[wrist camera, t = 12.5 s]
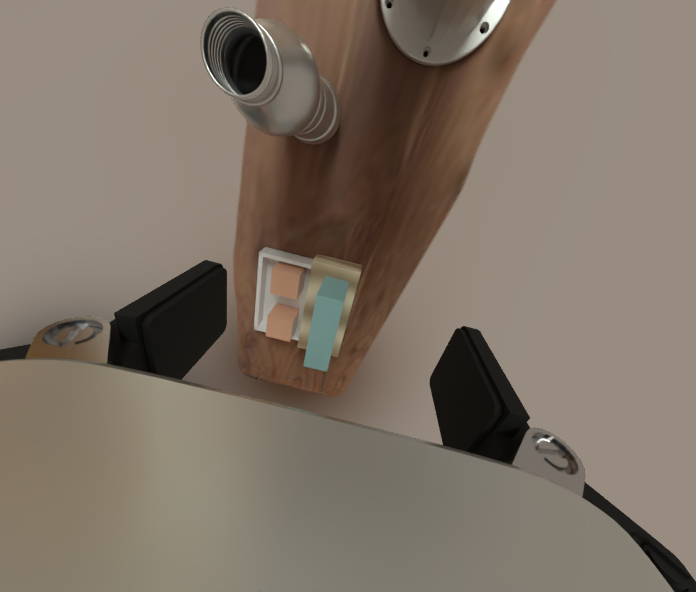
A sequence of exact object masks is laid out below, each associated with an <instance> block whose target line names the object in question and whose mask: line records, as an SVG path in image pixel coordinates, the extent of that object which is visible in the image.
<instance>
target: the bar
mask: <svg viewBox="0 0 696 592" xmlns="http://www.w3.org/2000/svg"><path fill="white" fill-rule="evenodd" d="M348 284H349V282H348V281H344V280H340V279H336V278H332V277H328V276H325V278H324V280H323V282H322V284H321V286H320V289H319V291H318V293H317V295H316V301H315V306H314V311H313V317H312V322H311V327H310V333H309V338H308V343H307V349H306V354H305V360H304V365H303V366H305V367H309V368H313V369H317V370H321V371H326V372H327V369H328V365H329V361H330V357H331V353H332V349H333V345H334V341H335V337H336V333H337V329H338V325H339V321H340V317H341V313H342V309H343V305H344V301H345V297H346V293H347V288H348Z"/></svg>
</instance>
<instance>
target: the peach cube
mask: <svg viewBox="0 0 696 592" xmlns="http://www.w3.org/2000/svg"><path fill="white" fill-rule="evenodd" d="M299 311H300V309H299V308H295V307H291V306H287V305H283V304H279V303H276V304H275V306H274V307H273V309H272V310H271V311H270V313H269V314H268V316H267V326H266V336H268V337H272V338H276V339H279V340H283V341H287V342H290V341H291V339H292V337H293V335H294V333H295V330H296V328H297V323H298V317H299Z"/></svg>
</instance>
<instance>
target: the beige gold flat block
mask: <svg viewBox="0 0 696 592" xmlns="http://www.w3.org/2000/svg"><path fill="white" fill-rule="evenodd" d="M361 270H362V265H360V264H356V263H352V262H348V261H345V260H341V259H337V258H333V257H329V256H325V255H321V254H316V256H315V257H314V259H313V260H312V266H311V272H310V278H309V283H308V289H307V295H306V300H305V306H304V312H303V318H302V323H301V329H300V335H299V340H298V346H297V347H298V348H302V349H307V343H308V338H309V333H310V327H311V322H312V317H313V311H314V306H315V301H316V295H317V293H318V291H319V289H320V286H321V284H322V282H323V280H324V278H325V276H328V277H332V278H336V279H340V280H344V281H348V282H349V284H348V288H347V293H346V297H345V301H344V305H343V309H342V313H341V317H340V321H339V325H338V329H337V333H336V337H335V341H334V345H333V349H332V353H331V356H334V357H338V354H339V350H340V347H341V343H342V340H343V336H344V332H345V329H346V325H347V322H348V318H349V314H350V311H351V307H352V304H353V300H354V296H355V293H356V289H357V286H358V282H359V278H360V275H361Z"/></svg>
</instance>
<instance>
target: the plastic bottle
mask: <svg viewBox="0 0 696 592" xmlns="http://www.w3.org/2000/svg"><path fill="white" fill-rule="evenodd" d="M201 54H202V58H203V62H204V65H205V67H206V70H207V72H208V74H209V75H210V77H211V78H212V80H213V81H214V82H215V83H216V85H217V86H218V87H219V88H220V89H222V90H223V91H224V92H225V93H226V94H228V95H230V96H231V99H232V101H233V102H234V104H235V106H236V107H237V109H238V110H239V112H240V113H241V114H242V115H243V117H244V118H245V119H246V120H247V121H248V122H249V123H250V124H251V125H252V126H253V127H255V128H256V129H258V130H259V131H261V132H263V133H265V134H268V135H271V136H279V137H284V136H292V135H294V136H295V137H296V138H297V139H299V140H300V141H302V142H304V143H307V144H312V145H316V144H321V143H324V142H326V141H328V140H329V139H330V138H331V137H332V136H333V135H334V134H335V132H336V131H337V129H338V127H339V124H340V120H341V103H340V99H339V96H338V94H337V92H336V90H335V88H334V87H333V85H332V84H331V83H330V82H329V81H328V80H327V79H326V78H324V77H323V76H321V75H319V72H318V69H317V65H316V62H315V60H314V58H313V56H312V54H311V51H310V49H309V47H308V46H307V45H306V43H305V42H304V40H303V39H302V38H301V37H300V36H299V35H298V34H297V33H296V32H295V31H294V30H293V29H292V28H290V27H289V26H287V25H285V24H283V23H281V22H278V21H275V20H271V19H264V18H258V19H252V18H251V17H250V16H249V15H248V14H246V13H244V12H243V11H241V10H238V9H236V8H230V7H225V8H220V9H218V10H216V11H214V12H213V13H212V14H211V15H210V16H209V17H208V18H207V20H206V22H205V23H204V26H203V29H202V33H201Z"/></svg>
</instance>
